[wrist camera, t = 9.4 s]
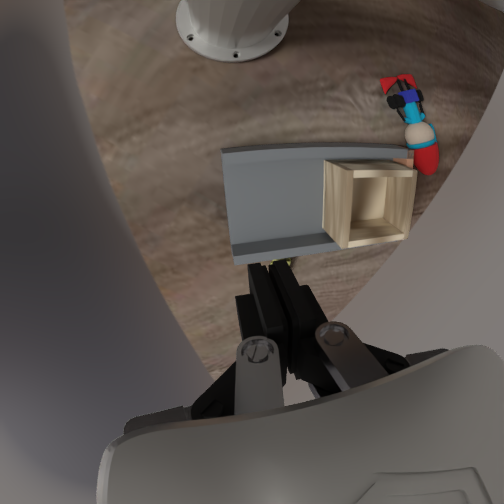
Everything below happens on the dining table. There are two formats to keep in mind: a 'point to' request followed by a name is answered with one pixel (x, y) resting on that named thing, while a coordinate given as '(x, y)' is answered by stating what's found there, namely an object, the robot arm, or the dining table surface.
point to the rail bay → (286, 195)
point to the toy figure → (414, 123)
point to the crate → (367, 201)
